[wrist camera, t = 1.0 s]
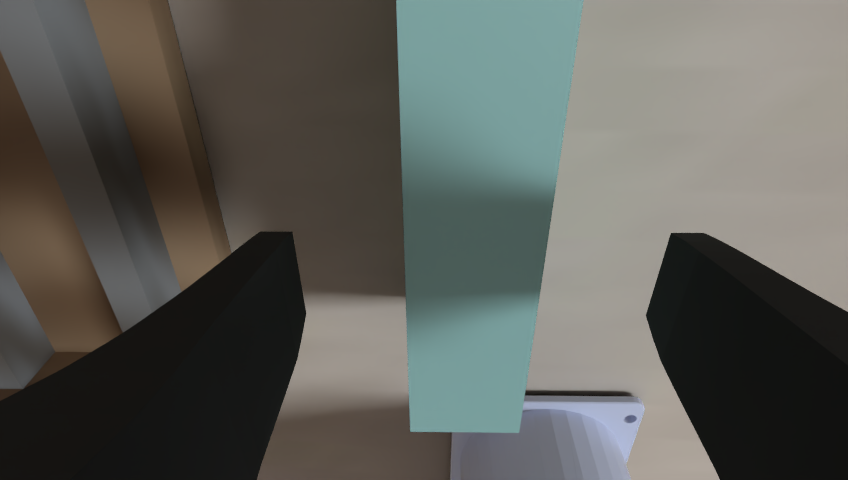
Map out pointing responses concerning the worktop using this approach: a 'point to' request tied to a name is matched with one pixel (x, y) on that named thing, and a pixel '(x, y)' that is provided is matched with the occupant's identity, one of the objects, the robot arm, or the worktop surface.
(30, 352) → the track board
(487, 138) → the long teal rectangular block
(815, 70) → the worktop surface
